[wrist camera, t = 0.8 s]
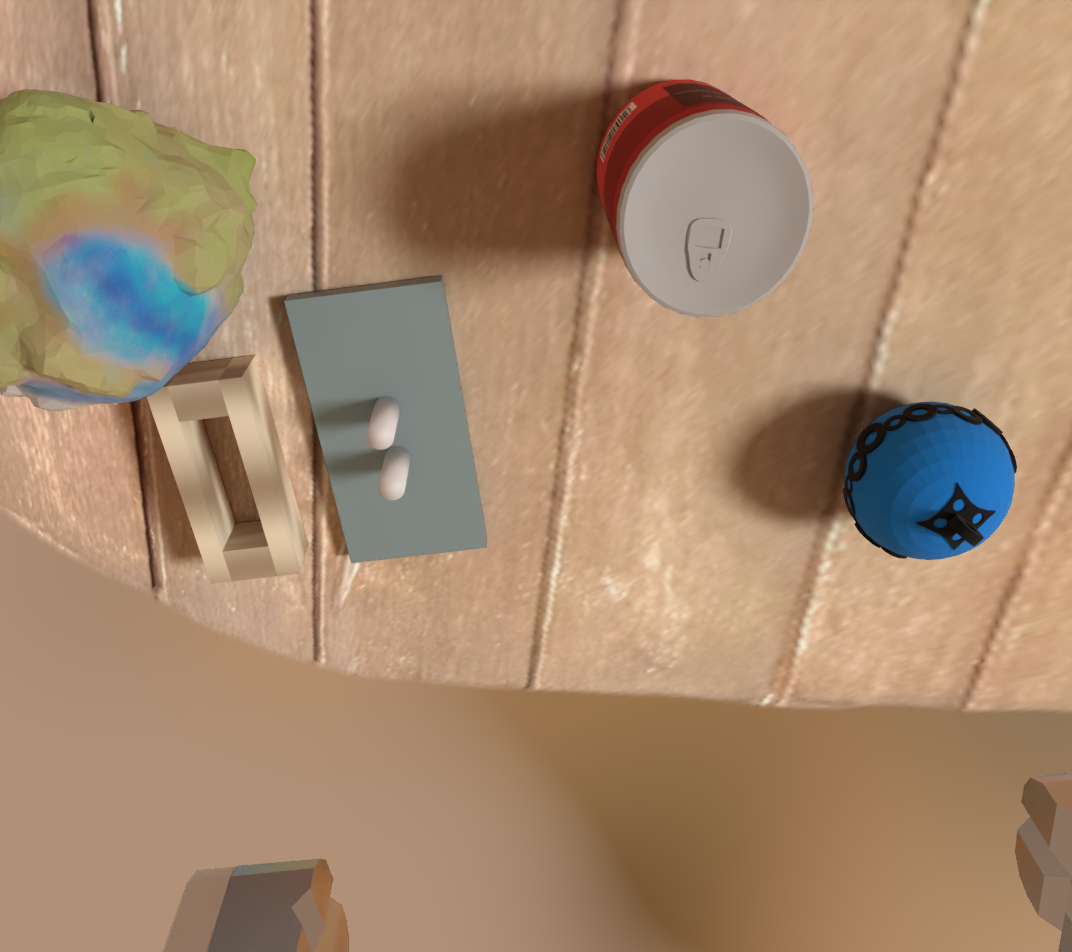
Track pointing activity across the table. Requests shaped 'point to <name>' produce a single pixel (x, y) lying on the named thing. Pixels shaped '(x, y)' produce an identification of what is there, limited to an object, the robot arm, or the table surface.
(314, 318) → the boss board
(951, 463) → the ornament
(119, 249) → the decorative rock
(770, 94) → the table surface
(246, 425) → the beige wooden rectangular frame
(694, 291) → the canned food
